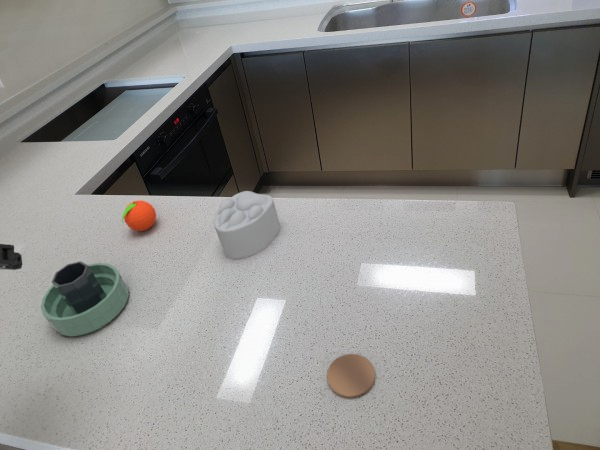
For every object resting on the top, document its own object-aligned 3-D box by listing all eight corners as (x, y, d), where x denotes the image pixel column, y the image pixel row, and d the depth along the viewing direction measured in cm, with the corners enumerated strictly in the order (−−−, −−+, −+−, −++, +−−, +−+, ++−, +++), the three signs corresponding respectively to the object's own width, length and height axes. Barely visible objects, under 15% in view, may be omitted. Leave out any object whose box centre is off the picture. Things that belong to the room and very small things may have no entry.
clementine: (141, 243, 101) (128, 217, 97) (121, 236, 105) (107, 211, 101) (166, 221, 106) (155, 196, 102) (147, 216, 110) (135, 191, 105)
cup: (86, 322, 84) (63, 290, 78) (69, 311, 87) (46, 279, 82) (113, 300, 87) (93, 268, 82) (96, 290, 90) (75, 258, 85)
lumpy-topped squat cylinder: (286, 224, 97) (278, 190, 92) (250, 264, 89) (239, 229, 84) (248, 215, 102) (237, 182, 97) (211, 252, 94) (197, 219, 89)
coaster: (359, 406, 62) (359, 404, 61) (318, 384, 66) (317, 382, 65) (383, 368, 66) (383, 366, 65) (343, 349, 69) (343, 347, 69)
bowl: (80, 350, 79) (66, 331, 76) (41, 320, 87) (27, 302, 84) (144, 295, 87) (134, 276, 84) (103, 272, 95) (92, 254, 92)
